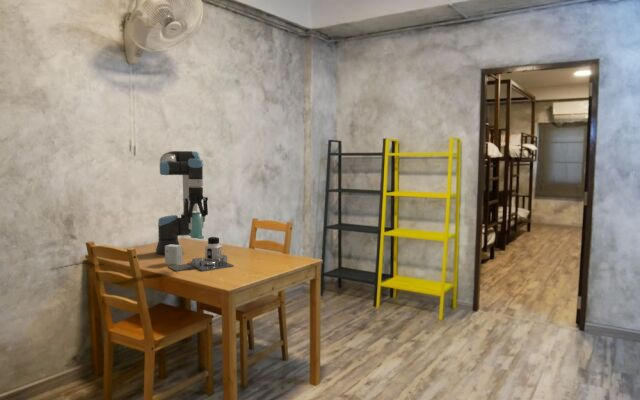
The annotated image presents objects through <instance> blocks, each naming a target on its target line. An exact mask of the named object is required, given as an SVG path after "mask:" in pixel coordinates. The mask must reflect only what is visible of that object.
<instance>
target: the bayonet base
mask: <svg viewBox="0 0 640 400" xmlns="http://www.w3.org/2000/svg"><path fill="white" fill-rule="evenodd" d="M216 258H219V259H214V260H205V258H203V257H198V258H197V257H196V258H192V259H191V260H192V261H191V262H187V263H186V264H189V265H191V266H193V267H195V268H196V269H195V270H198V271H200V272H207V271H213V270H221V269H225V268H226V269H227V268H232V267H234V264H232V263H230V262H228V255H226V254H223V253H222V255H216Z"/></svg>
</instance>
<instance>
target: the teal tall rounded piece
mask: <svg viewBox="0 0 640 400" xmlns="http://www.w3.org/2000/svg"><path fill="white" fill-rule="evenodd" d="M191 217H192V229H191V233H189V235H188V236H189V237H190V238H191V239H199V240H203V239H204V238H205V236H204V235H203V228H202V214H201V213H200V211H199V212H198V211H197V212H193V213H192V215H191Z"/></svg>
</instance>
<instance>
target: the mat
mask: <svg viewBox="0 0 640 400" xmlns="http://www.w3.org/2000/svg"><path fill="white" fill-rule="evenodd" d="M167 268H168V269H170V270H172V271H174V272H176V273H177V272H183V271H188V270H189V271H190V270H197V269H196V268H195V267H193V266H191V265H189V264H187V263H181V264H178V265H170V266H169V265H168V267H167Z"/></svg>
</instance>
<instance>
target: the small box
mask: <svg viewBox="0 0 640 400" xmlns="http://www.w3.org/2000/svg"><path fill="white" fill-rule="evenodd" d="M164 261H165V262H164V264H165V265H171V266H175V265H182V264H184V261H183V245H182V244H179V245H173V244H170V245H166V246H165V255H164Z"/></svg>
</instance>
